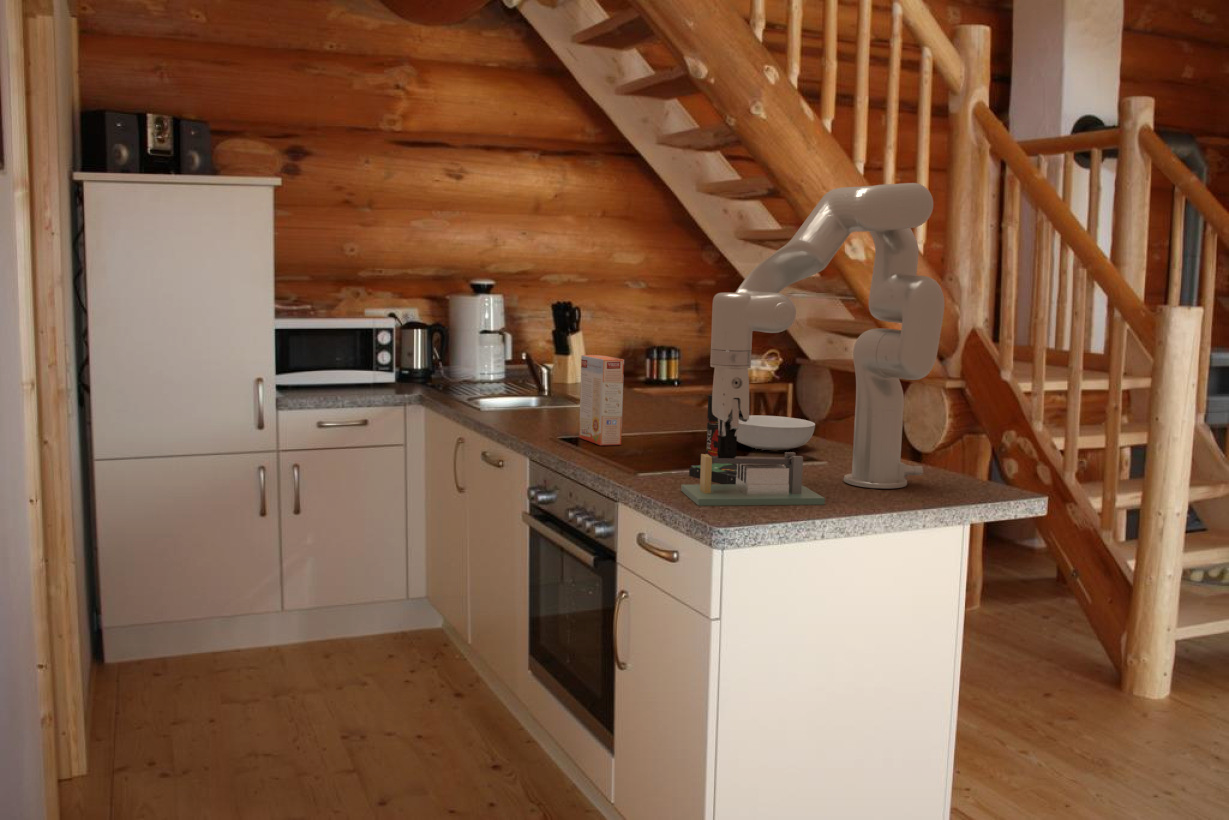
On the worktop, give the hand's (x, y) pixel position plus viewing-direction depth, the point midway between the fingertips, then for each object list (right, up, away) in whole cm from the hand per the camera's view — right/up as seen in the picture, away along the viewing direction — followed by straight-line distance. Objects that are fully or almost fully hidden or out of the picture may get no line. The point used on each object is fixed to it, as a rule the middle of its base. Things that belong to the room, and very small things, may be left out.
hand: (726, 456), depth 219 cm
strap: (+5, -2, +1) cm, 6 cm away
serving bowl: (+17, -1, +63) cm, 66 cm away
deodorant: (+2, -3, +41) cm, 41 cm away
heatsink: (+7, -7, +2) cm, 10 cm away
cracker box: (-25, +1, +66) cm, 71 cm away
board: (+5, -8, +2) cm, 9 cm away
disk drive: (+3, -6, +21) cm, 22 cm away
